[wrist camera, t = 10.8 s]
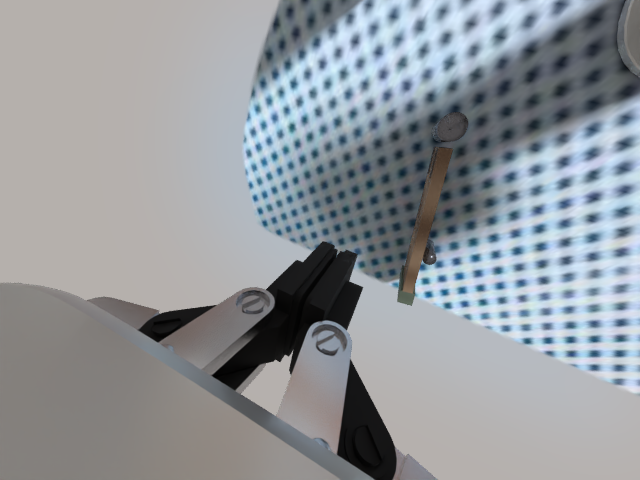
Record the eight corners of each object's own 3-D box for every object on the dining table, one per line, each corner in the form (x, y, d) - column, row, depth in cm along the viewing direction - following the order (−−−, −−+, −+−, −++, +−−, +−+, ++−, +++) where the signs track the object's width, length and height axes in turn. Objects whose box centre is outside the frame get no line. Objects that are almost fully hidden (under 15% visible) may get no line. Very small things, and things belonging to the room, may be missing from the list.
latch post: (434, 240, 33) (437, 255, 29) (431, 250, 34) (434, 265, 30) (423, 238, 34) (424, 252, 29) (420, 247, 34) (421, 263, 30)
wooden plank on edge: (431, 146, 28) (435, 147, 22) (447, 147, 28) (456, 149, 22) (400, 275, 36) (397, 301, 30) (412, 278, 36) (411, 305, 29)
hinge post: (456, 120, 27) (472, 112, 20) (450, 142, 28) (463, 142, 21) (434, 119, 28) (441, 111, 21) (429, 141, 29) (434, 140, 22)
